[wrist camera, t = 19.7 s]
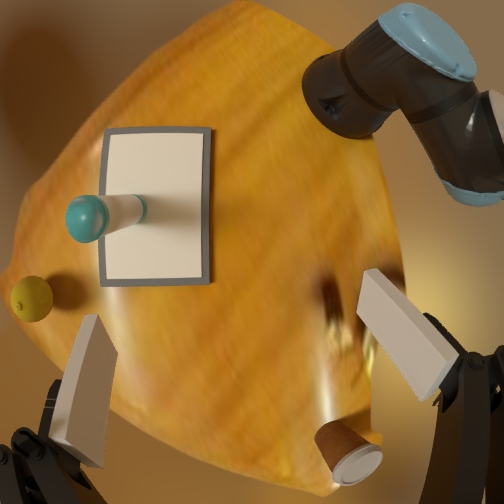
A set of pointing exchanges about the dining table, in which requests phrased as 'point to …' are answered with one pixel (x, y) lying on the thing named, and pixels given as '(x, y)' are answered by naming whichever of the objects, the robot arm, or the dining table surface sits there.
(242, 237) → the dining table surface
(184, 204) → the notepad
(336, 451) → the disposable coffee cup
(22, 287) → the lemon
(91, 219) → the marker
